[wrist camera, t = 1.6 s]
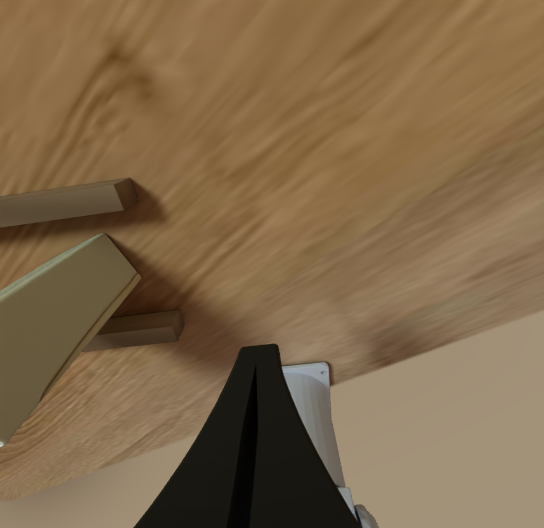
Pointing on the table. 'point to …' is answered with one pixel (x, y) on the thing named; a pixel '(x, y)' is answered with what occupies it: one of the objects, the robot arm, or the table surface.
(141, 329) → the cradle
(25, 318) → the skincare box
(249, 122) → the table surface
